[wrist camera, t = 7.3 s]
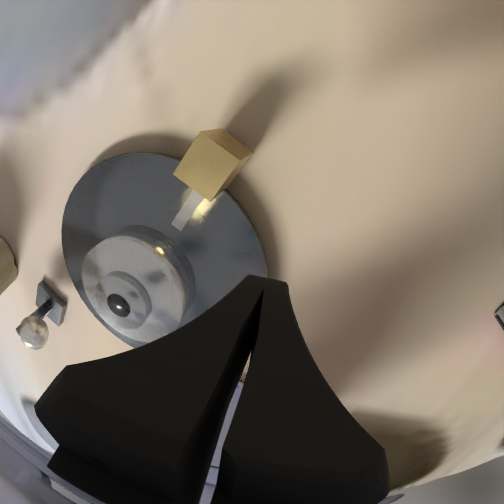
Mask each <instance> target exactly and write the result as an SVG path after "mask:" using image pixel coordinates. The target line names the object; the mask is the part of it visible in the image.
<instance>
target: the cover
mask: <svg viewBox="0 0 504 504" xmlns="http://www.w3.org/2000/svg"><path fill="white" fill-rule="evenodd" d="M82 281H83V286H84V289H85V292H86V295H87V297H88V299H89V301H90V303H91V305H92V306H93V308H94V309H95V311H96V312H97V313H98V314H99V316H100V317H101V318H102V319H103V320H104V321H105V322H106V323H107V324H108V325H109V326H111V327H112V328H113V329H115V330H116V331H117V332H119V333H121V334H122V335H124V336H126V337H128V338H131V339H134V340H137V341H141V342H152V341H154V340H157V339H159V338H161V337H163V336H165V335H167V334H169V333H171V332H173V331H175V330H176V328H177V327H178V325H179V323H180V322H181V320H182V318H183V317H184V315H185V314H186V312H187V310H188V309H189V307H190V305H191V304H192V302H193V300H194V297H195V292H196V282H195V276H194V272H193V269H192V266H191V264H190V262H189V260H188V258H187V257H186V255H185V254H184V252H183V251H182V250H181V249H180V247H179V246H178V245H177V244H176V243H175V242H174V241H173V240H171V239H170V238H169V237H168V236H166V235H165V234H163V233H162V232H160V231H158V230H156V229H153V228H151V227H147V226H143V225H130V226H125V227H123V228H121V229H119V230H117V231H116V232H114V233H113V234H112V235H110V236H109V237H107V238H106V239H104V240H103V241H102V242H100V243H99V244H97V245H96V246H95V247H93V248H92V249H91V250H90V251H89V252H88V253H87V255H86V256H85V259H84V261H83V265H82Z"/></svg>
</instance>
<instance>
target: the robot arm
mask: <svg viewBox="0 0 504 504" xmlns="http://www.w3.org/2000/svg"><path fill="white" fill-rule="evenodd" d="M251 350H252V351H251ZM250 353H251V357H250V363H249V368H248V372H247V375H246V378H245V381H244V384H243V383H242V382H240V381H239V380H240V378H241V375H242V373H243V370H244V368H245V365H246V363H247V360H248V358H249V355H250ZM34 408H35V412H36V415H37V417H38V418H39V420H40V421H41V423H42V424H43V425H44V427H45V428H46V429H47V431H48V432H49V433H50V434H51V435H52V437H53V438H54V439H55V440H56V441H57V443H58V444H59V447H58V448H57V450H56V451H55V453H54V455H51V454H50V453H48V452H47V451H45V450H44V449H42V448H41V447H40V446H38V445H37V444H35V443H34V442H33V441H31V440H30V439H29V438H27V437H26V436H25V435H24V434H22V433H21V432H20V431H19V430H17V429H16V428H15V427H13V426H12V425H11V424H10V423H9V422H7V421H6V420H5V419H4V418H3V417H2V416H1V415H0V504H76V503H75V502H73V501H71V500H70V499H68V498H66V497H65V496H63V495H62V494H61V493H59V492H58V491H56V490H55V489H53V488H52V486H51V481H50V479H52V480H53V481H55V482H56V483H58V484H59V485H60V486H62V487H64V488H65V489H67V490H68V491H70V492H72V493H73V494H75V495H77V496H78V497H80V498H82V499H83V500H85V501H87V502H89V503H90V504H377V503H379V502H380V501H382V500H383V499H384V498H385V497H386V496H387V495H388V493H389V491H390V481H389V470H388V464H387V459H386V454H385V449H384V448H383V447H382V446H381V445H380V444H379V443H378V442H377V441H376V440H375V439H373V438H372V437H371V436H370V435H369V434H368V433H367V432H366V431H365V430H364V429H363V428H362V427H361V426H360V425H359V424H358V422H357V421H356V420H355V419H354V418H353V417H352V416H351V414H350V413H349V412H348V411H347V410H346V408H345V407H344V406H343V404H342V403H341V402H340V400H339V399H338V397H337V396H336V395H335V393H334V392H333V390H332V389H331V388H330V386H329V385H328V383H327V382H326V380H325V379H324V377H323V375H322V374H321V372H320V370H319V369H318V367H317V365H316V363H315V361H314V360H313V358H312V356H311V354H310V352H309V350H308V348H307V345H306V343H305V341H304V338H303V336H302V334H301V331H300V329H299V326H298V323H297V320H296V317H295V314H294V311H293V308H292V304H291V300H290V295H289V288H288V285H287V283H286V282H283V281H278V280H274V279H269V278H265V277H260V276H255V275H251V274H249V275H247V276H246V277H245V278H244V279H243V280H242V281H241V282H240V283H239V284H238V285H237V286H236V287H235V288H234V289H232V290H231V291H230V292H229V293H228V294H227V295H226V296H224V297H223V298H222V299H221V300H220V301H218V302H217V303H216V304H215V305H213V306H212V307H211V308H209V309H208V310H206V311H205V312H204V313H202V314H201V315H199V316H198V317H196V318H195V319H193V320H192V321H190V322H189V323H187V324H185V325H184V326H182V327H180V328H178V329H177V330H175V331H173V332H171V333H169V334H167V335H165V336H163V337H161V338H159V339H157V340H154V341H152V342H150V343H148V344H145V345H143V346H140V347H138V348H135V349H132V350H129V351H126V352H123V353H120V354H116V355H113V356H110V357H106V358H102V359H98V360H93V361H88V362H83V363H78V364H73V365H67V366H66V367H65V368H64V369H63V370H62V371H61V372H60V373H59V374H58V375H57V376H56V378H55V379H54V380H53V382H52V383H51V384H50V385H49V387H48V388H47V389H46V391H45V392H44V393H43V395H42V396H41V397H40V399H39V400H38V401H37V403H36V404H35V406H34ZM48 477H49V478H50V479H49V478H48Z"/></svg>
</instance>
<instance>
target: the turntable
mask: <svg viewBox="0 0 504 504" xmlns="http://www.w3.org/2000/svg"><path fill="white" fill-rule="evenodd" d="M253 153H254V152H253V151H252V150H250V149H249V148H247V147H246V146H245V145H243V144H242V143H241V142H239V141H238V140H237V139H235V138H234V137H232V136H231V135H230V134H228V133H227V132H225V131H224V130H223V129H214V130H208V131H202V132H199V134H198V135H197V137H196V138H195V140H194V141H193V143H192V145H191V146H190V148H189V149H188V151H187V152H186V154H185V155H184V157H183V159H182V160H180V159H177V158H174V157H170V156H167V155H163V154H157V153H150V152H135V153H128V154H123V155H118V156H115V157H112V158H110V159H107V160H105V161H102V162H101V163H99V164H97V165H96V166H94V167H93V168H91V169H90V170H89V171H88V172H87V173H86V174H84V175H83V176H82V178H81V179H80V180H79V181H78V183H77V184H76V185H75V187H74V189H73V190H72V192H71V194H70V196H69V198H68V201H67V204H66V206H65V210H64V215H63V221H62V246H63V254H64V258H65V262H66V266H67V269H68V272H69V274H70V277H71V279H72V281H73V284H74V286H75V288H76V290H77V291H78V293H79V295H80V297H81V298H82V300H83V301H84V303H85V304H86V306H87V307H88V308H89V310H90V311H91V312H92V313H93V315H94V316H95V317H96V318H97V319H98V320H99V321H100V322H101V323H102V324H103V325H104V326H105V327H106V328H107V329H108V330H109V331H111V332H112V333H113V334H114V335H115V336H117V337H118V338H119V339H121V340H122V341H124V342H125V343H127V344H129V345H130V346H132V347H134V348H138V347H140V346H143V345H145V344H148V343H150V342H141V341H137V340H134V339H131V338H128V337H126V336H124V335H122V334H121V333H119V332H117V331H116V330H115V329H113V328H112V327H111V326H109V325H108V324H107V323H106V322H105V321H104V320H103V319H102V318H101V317H100V316H99V314H98V313H97V312H96V311H95V309H94V308H93V306H92V305H91V303H90V301H89V299H88V297H87V295H86V292H85V289H84V286H83V281H82V265H83V261H84V259H85V256H86V255H87V253H88V252H89V251H90V250H91V249H92V248H93V247H95V246H96V245H97V244H99V243H100V242H102V241H103V240H104V239H106V238H107V237H109V236H110V235H112V234H113V233H114V232H116V231H117V230H119V229H121V228H123V227H125V226H130V225H143V226H147V227H151V228H153V229H156V230H158V231H160V232H162V233H163V234H165V235H166V236H168V237H169V238H170V239H171V240H173V241H174V242H175V243H176V244H177V245H178V246H179V247H180V249H181V250H182V251H183V252H184V254H185V255H186V257H187V258H188V260H189V262H190V264H191V266H192V269H193V272H194V276H195V282H196V292H195V297H194V300H193V302H192V304H191V305H190V307H189V309H188V310H187V312H186V314H185V315H184V317H183V318H182V320H181V322H180V323H179V325H178V327H177V328H176V330H177V329H178V328H180V327H182V326H184V325H185V324H187V323H189V322H190V321H192V320H193V319H195V318H196V317H198V316H199V315H201V314H202V313H204V312H205V311H206V310H208V309H209V308H211V307H212V306H213V305H215V304H216V303H217V302H218V301H220V300H221V299H222V298H223V297H224V296H226V295H227V294H228V293H229V292H230V291H231V290H232V289H234V288H235V287H236V286H237V285H238V284H239V283H240V282H241V281H242V280H243V279H244V278H245V277H246V276H247V275H249V274H251V275H255V276H260V277H265V278H268V267H267V262H266V258H265V253H264V250H263V247H262V244H261V242H260V239H259V236H258V234H257V232H256V230H255V228H254V227H253V225H252V223H251V221H250V219H249V218H248V216H247V215H246V213H245V212H244V210H243V209H242V208H241V206H240V205H239V203H238V202H237V201H236V200H235V199H234V198H233V197H232V196H231V195H230V193H229V192H228V191H227V190H226V188H227V187H228V186H229V185H230V184H231V182H232V181H233V180H234V178H235V177H236V175H237V174H238V173H239V171H240V170H241V169H242V167H243V166H244V165H245V163H246V162H247V161H248V159H249V158H250V157H251V155H252V154H253Z"/></svg>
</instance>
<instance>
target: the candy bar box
mask: <svg viewBox="0 0 504 504" xmlns="http://www.w3.org/2000/svg"><path fill="white" fill-rule="evenodd" d="M494 316H495V318H496V319H497V321H498V322H499V324H500V325H501V327H502V329H503V330H504V304H503V305H502V306H501V307H500V308H499V309H498V310H497V311H496V312H495V314H494Z"/></svg>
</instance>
